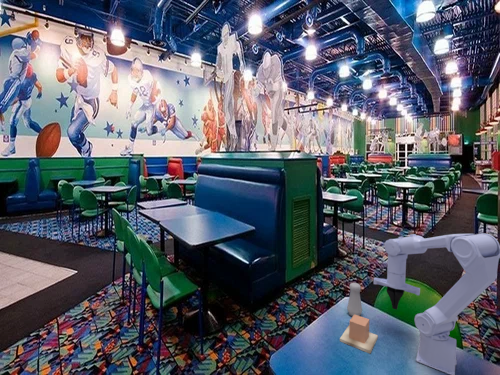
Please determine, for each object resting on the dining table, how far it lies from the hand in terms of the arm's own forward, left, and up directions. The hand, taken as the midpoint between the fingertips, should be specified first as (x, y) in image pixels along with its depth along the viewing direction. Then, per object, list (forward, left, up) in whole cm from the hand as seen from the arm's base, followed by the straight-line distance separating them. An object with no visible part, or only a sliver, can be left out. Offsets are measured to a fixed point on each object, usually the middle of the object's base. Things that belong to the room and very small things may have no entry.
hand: (395, 307), depth 94 cm
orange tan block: (+9, +12, -8) cm, 17 cm away
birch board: (+9, +12, -9) cm, 18 cm away
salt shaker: (+15, -3, -10) cm, 18 cm away
